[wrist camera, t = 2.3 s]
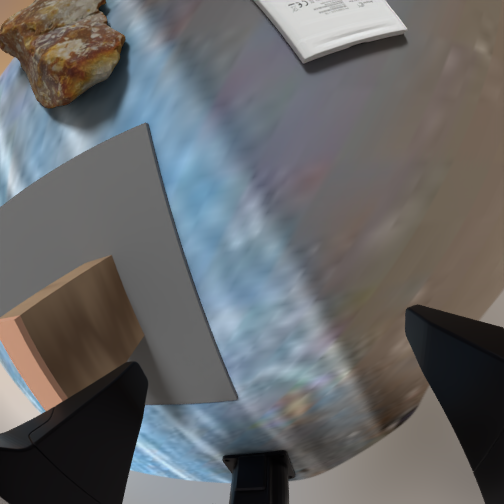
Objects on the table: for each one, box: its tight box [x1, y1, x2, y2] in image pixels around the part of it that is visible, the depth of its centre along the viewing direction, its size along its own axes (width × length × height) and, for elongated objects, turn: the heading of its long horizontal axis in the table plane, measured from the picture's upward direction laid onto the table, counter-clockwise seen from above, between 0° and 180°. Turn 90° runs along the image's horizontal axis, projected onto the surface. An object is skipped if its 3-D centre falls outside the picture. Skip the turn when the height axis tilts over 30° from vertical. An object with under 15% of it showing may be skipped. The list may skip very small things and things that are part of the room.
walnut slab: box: [0, 255, 144, 411], centre depth 13 cm, size 6×2×9 cm, turn 14°
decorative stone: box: [0, 0, 125, 109], centre depth 10 cm, size 10×4×15 cm
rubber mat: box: [0, 123, 238, 405], centre depth 18 cm, size 20×25×1 cm
